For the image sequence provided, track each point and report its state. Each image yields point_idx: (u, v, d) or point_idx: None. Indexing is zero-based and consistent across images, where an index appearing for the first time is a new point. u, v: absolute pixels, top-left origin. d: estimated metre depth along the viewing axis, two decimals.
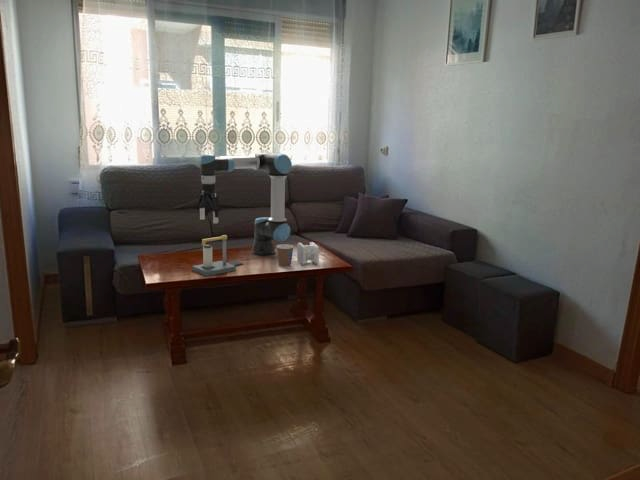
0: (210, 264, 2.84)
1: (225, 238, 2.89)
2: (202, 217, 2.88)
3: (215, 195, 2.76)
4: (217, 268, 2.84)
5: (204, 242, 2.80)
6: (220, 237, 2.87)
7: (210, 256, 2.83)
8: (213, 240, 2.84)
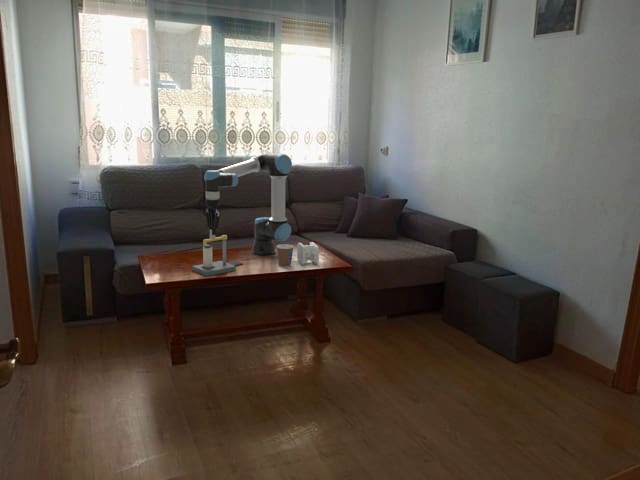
0: (210, 264, 2.84)
1: (225, 238, 2.89)
2: None
3: (218, 215, 2.78)
4: (217, 268, 2.84)
5: (205, 242, 2.80)
6: (220, 237, 2.87)
7: (210, 256, 2.83)
8: (214, 240, 2.84)
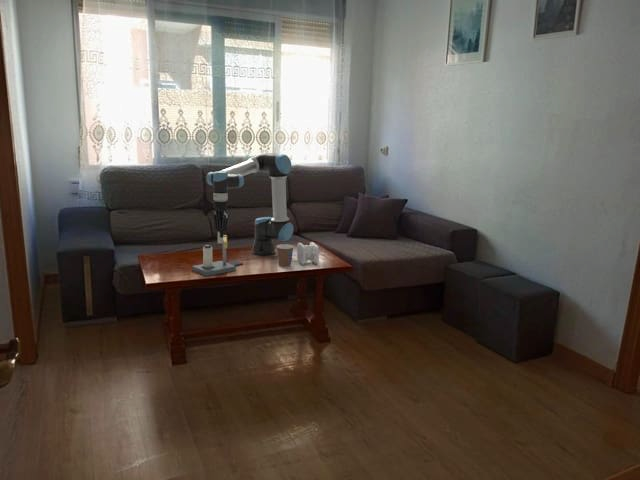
0: (210, 264, 2.84)
1: None
2: None
3: (226, 217, 2.73)
4: (217, 268, 2.84)
5: None
6: (226, 237, 2.87)
7: (210, 256, 2.83)
8: None
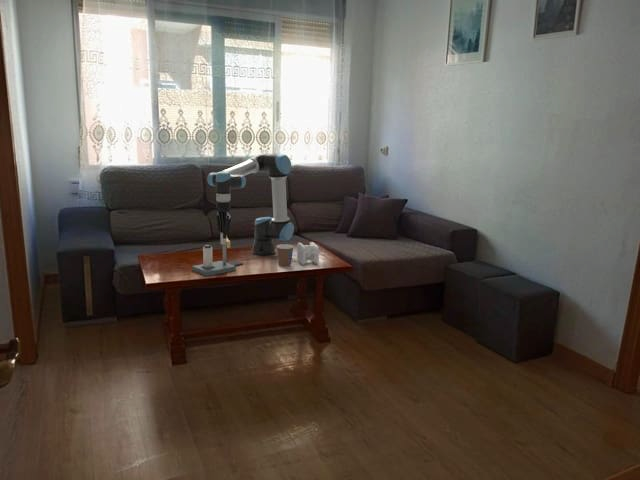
0: (210, 264, 2.84)
1: None
2: None
3: (229, 218, 2.71)
4: (217, 268, 2.84)
5: None
6: None
7: (210, 256, 2.83)
8: None
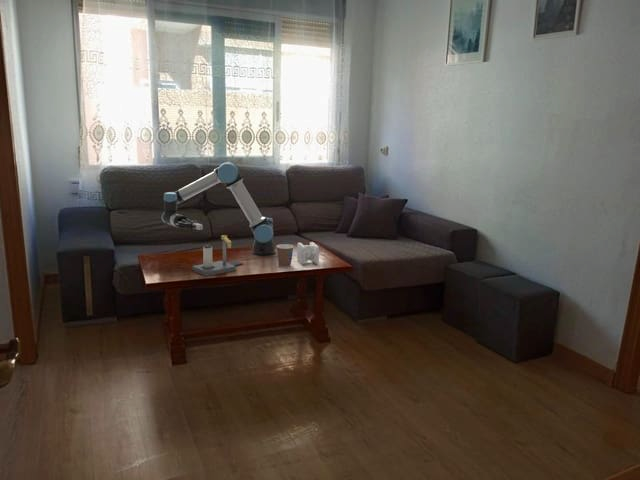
0: (210, 264, 2.84)
1: None
2: (200, 227, 2.87)
3: (177, 224, 2.92)
4: (217, 268, 2.84)
5: (230, 244, 2.78)
6: None
7: (210, 256, 2.83)
8: None
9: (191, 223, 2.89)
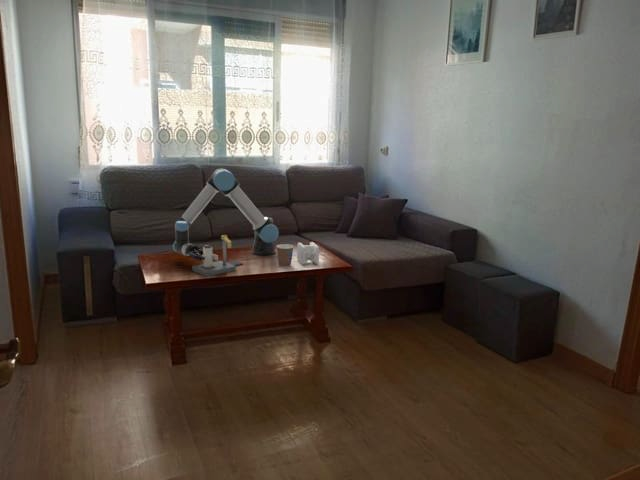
0: (210, 264, 2.84)
1: None
2: (215, 258, 2.83)
3: (187, 255, 2.87)
4: (217, 268, 2.84)
5: (230, 244, 2.78)
6: None
7: (210, 256, 2.83)
8: None
9: (200, 255, 2.83)
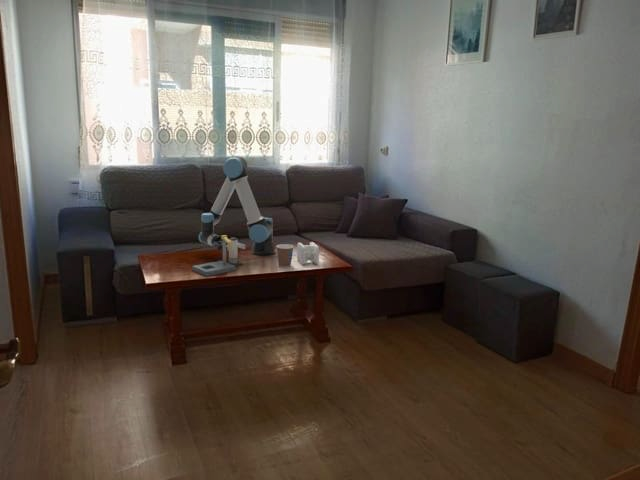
0: (235, 256, 3.00)
1: None
2: (242, 246, 3.01)
3: (213, 244, 3.04)
4: (217, 268, 2.84)
5: (230, 244, 2.78)
6: None
7: (236, 248, 2.99)
8: None
9: (222, 245, 2.98)
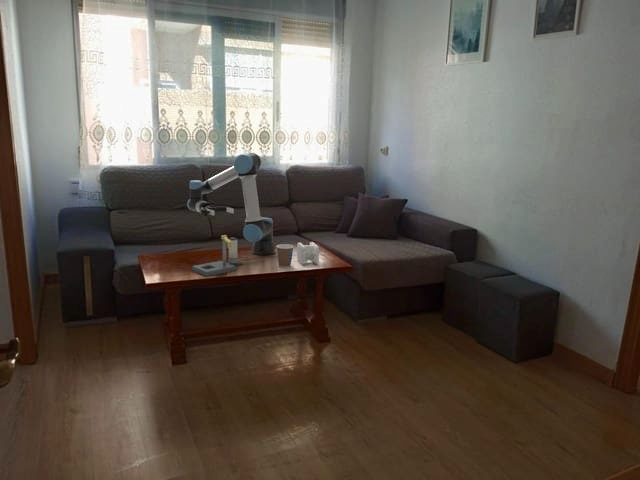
0: (235, 255, 3.00)
1: None
2: (231, 211, 3.08)
3: (199, 209, 3.09)
4: (217, 268, 2.84)
5: (230, 244, 2.78)
6: None
7: (235, 248, 2.99)
8: None
9: (205, 209, 3.02)
